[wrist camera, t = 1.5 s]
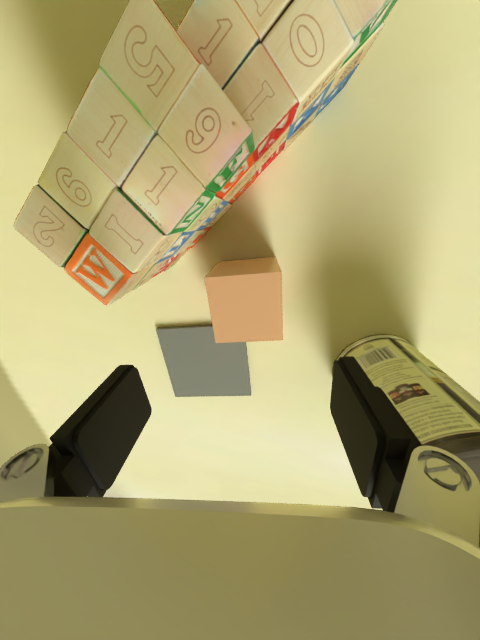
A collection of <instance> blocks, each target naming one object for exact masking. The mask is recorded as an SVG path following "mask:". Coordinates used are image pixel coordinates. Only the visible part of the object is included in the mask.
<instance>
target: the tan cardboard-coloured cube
mask: <svg viewBox="0 0 480 640" xmlns="http://www.w3.org/2000/svg"><path fill="white" fill-rule="evenodd" d="M205 283H206V289H207V295H208V301H209V307H210V313H211V319H212V325H213V331H214V337H215V343H229V342H252V341H274V340H283V321H282V273H281V269H280V267H279V264H278V262H277V259H276V257H266V258H254V259H243V260H232V261H220V262H218V264H217V265H216V266H215V267H214V268H213V269H212V270H211V271H210V272H209V273H208V275H207V276H206V277H205Z"/></svg>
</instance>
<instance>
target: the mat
mask: <svg viewBox="0 0 480 640" xmlns="http://www.w3.org/2000/svg"><path fill="white" fill-rule="evenodd" d="M156 331H157V335H158V338H159V342H160V345H161V349H162V352H163V356H164V359H165V362H166V366H167V369H168V373H169V376H170V380H171V383H172V387H173V390H174V393H175V397H191V396H251V387H250V377H249V367H248V357H247V348H246V342H229V343H215V337H214V331H213V325H201V326H182V327H164V328H157V329H156Z"/></svg>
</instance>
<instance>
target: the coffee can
mask: <svg viewBox="0 0 480 640" xmlns="http://www.w3.org/2000/svg"><path fill="white" fill-rule="evenodd" d="M348 356H353V357H355V359H356V360H357V362H358V363H359V364H360V366H361V367H362V369H363V370H364V372H365V373H366V375H367V376H368V377H369V379H370V380H371V382H372V383H373V385H374V386H378V387H380V388H381V389H382V390H383V391H384V393H385V394H386V396H387V397H388V398H389V400H390V401H391V402H392V404H393V405H394V407H395V408H396V409H397V411H398V412H399V413H400V415H401V416H402V418H403V419H404V420H405V422H406V423H407V425H408V426H409V427H410V429H411V430H412V431H413V433H414V434H415V436H416V437H417V438H418V440H419V441H420V442H421V444H422V445H423V446H433V447H438V448H440V449H443V450H446V451H448V452H449V453H451V454H453V455H455V456H457V457H458V458H459V459H460V460H462V461H463V462H464V463H466V464H467V465H468V467H469V468H470V469H471V470H472V471H473V472H474V473H475V475H476V477H477V478H478V480H479V484H480V402H479V401H478V400H477V399H476V398H474V397H473V396H472V395H471V394H470V393H468V392H467V391H466V390H465V389H464V388H462V387H461V386H460V385H459V384H457V383H456V382H455V381H454V380H453V379H452V378H450V377H449V376H448V375H447V374H445V373H444V372H443V371H442V370H441V369H439V368H438V367H437V366H436V365H435V364H434V363H432V362H431V361H430V360H429V359H428V358H426V357H425V356H424V355H423V354H421V353H420V352H419V351H418V350H417V349H416V348H415V347H414V346H413V345H412V344H411V343H410V342H408V341H407V340H405V339H403V338H400V337H397V336H393V335H374V336H370V337H366V338H363V339H361V340H358V341H356V342H355V343H353V344H351V345H350V346H349V347H347V348H346V349H345V350H344V351H343V352H342V353H341V354H340V356H339V357H348ZM339 357H338V358H337V360H338V359H339ZM333 370H334V368H333Z"/></svg>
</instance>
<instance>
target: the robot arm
mask: <svg viewBox="0 0 480 640" xmlns="http://www.w3.org/2000/svg"><path fill="white" fill-rule="evenodd" d="M330 409H331V414H332V416H333V419H334V422H335V424H336V427H337V430H338V432H339V435H340V438H341V441H342V443H343V446H344V449H345V451H346V454H347V457H348V459H349V462H350V465H351V467H352V470H353V473H354V475H355V478H356V481H357V483H358V486H359V489H360V491H361V494H362V495H363V496H364V497H368V499H369V502H370V504H371V507H372V508H382V509H383V511H382V510H374V509H365V508H356V507H341V506H324V505H307V504H283V503H258V502H233V501H204V500H175V499H143V498H107V497H103V496H104V494H105V492H106V490H107V489H109V488H110V487H111V486H112V484H113V483H114V481H115V479H116V477H117V475H118V473H119V472H120V470H121V468H122V466H123V464H124V463H125V461H126V459H127V457H128V455H129V454H130V452H131V450H132V448H133V446H134V444H135V443H136V441H137V439H138V437H139V435H140V434H141V432H142V430H143V428H144V426H145V425H146V423H147V421H148V419H149V417H150V415H151V406H150V403H149V400H148V397H147V395H146V392H145V389H144V386H143V383H142V380H141V378H140V375H139V372H138V370H137V368H135V367H134V366H133V365H120V366H118V367H117V368H116V369H115V370H114V371H113V372H112V373H111V374H110V375H109V377H108V378H107V379H106V380H105V381H104V382H103V383H102V384H101V385H100V386H99V387H98V388H97V389H96V390H95V391H94V392H93V393H92V394H91V395H90V396H89V397H88V399H87V400H86V401H85V402H84V403H83V404H82V405H81V406H80V407H79V408H78V409H77V410H76V411H75V412H74V413H73V414H72V415H71V416H70V417H69V418H68V419H67V421H66V422H65V423H64V424H63V425H62V426H61V427H60V428H59V429H58V430H57V431H56V432H55V433H54V434H53V435H52V436H51V437H50V440H51V441H52V444H51V445H50V446H49V447H48V446H47V445H46V444H37V445H33V446H30V447H28V448H26V449H24V450H22V451H20V452H18V453H17V454H15V455H14V456H13V457H11V458H10V459H9V460H8V461H7V462H5V463H4V464H3V465H2V467H1V468H0V640H480V484H479V480H478V478H477V477H476V475H475V473H474V472H473V471H472V470H471V469H470V468H469V467H468V465H467V464H466V463H464V462H463V461H462V460H460V459H459V458H458V457H457V456H455V455H453V454H451V453H449V452H448V451H446V450H443V449H440V448H438V447H433V446H423V445H422V444H421V442H420V441H419V440H418V438H417V437H416V436H415V434H414V433H413V431H412V430H411V429H410V427H409V426H408V425H407V423H406V422H405V420H404V419H403V418H402V416H401V415H400V413H399V412H398V411H397V409H396V408H395V407H394V405H393V404H392V402H391V401H390V400H389V398H388V397H387V396H386V394H385V393H384V391H383V390H382V389H381V388H380V387H378V386H374V385H373V383H372V382H371V380H370V379H369V377H368V376H367V375H366V373H365V372H364V370H363V369H362V367H361V366H360V364H359V363H358V362H357V360H356V359H355V357H353V356H348V357H339V359H338V360H335V361H334V370H333V381H332V392H331V403H330ZM87 496H88V497H87Z"/></svg>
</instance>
